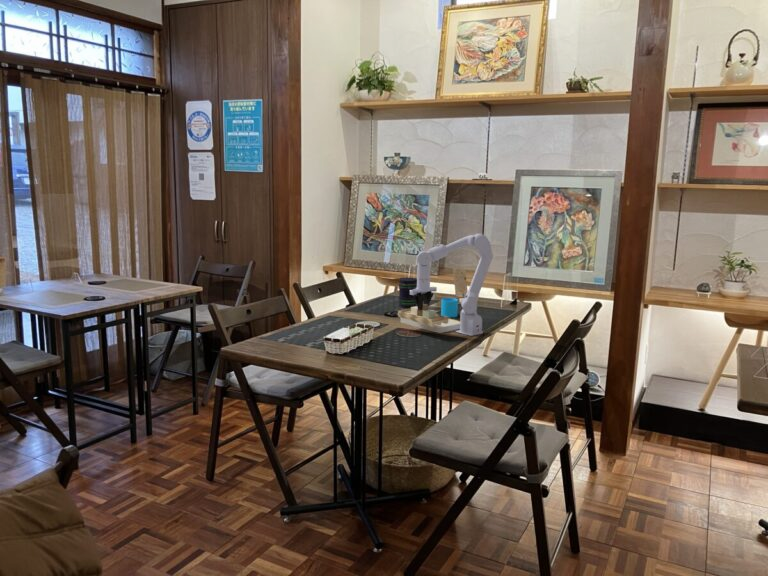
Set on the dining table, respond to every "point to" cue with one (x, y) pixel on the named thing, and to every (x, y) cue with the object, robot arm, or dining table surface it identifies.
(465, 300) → the robot arm
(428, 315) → the pale green block
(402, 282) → the storage jar
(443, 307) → the mug
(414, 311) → the off-white square block
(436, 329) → the dock
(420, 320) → the tan open box
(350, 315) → the dining table surface
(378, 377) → the dining table surface
